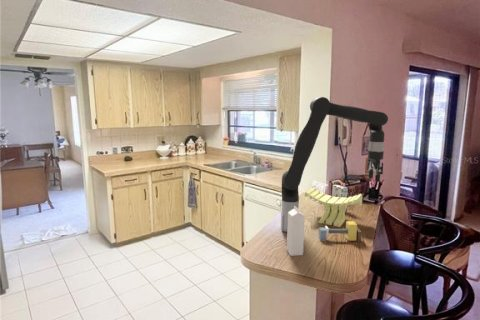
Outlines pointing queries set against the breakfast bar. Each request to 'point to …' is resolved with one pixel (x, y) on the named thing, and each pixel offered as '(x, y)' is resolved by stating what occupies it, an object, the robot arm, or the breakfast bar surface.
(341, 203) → the slatted curved stool
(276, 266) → the breakfast bar surface
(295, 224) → the milk
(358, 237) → the tan flat end block
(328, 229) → the pale beige end plate
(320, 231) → the block
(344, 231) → the grey slider rail
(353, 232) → the yellow sliding collar
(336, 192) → the candy bar box
